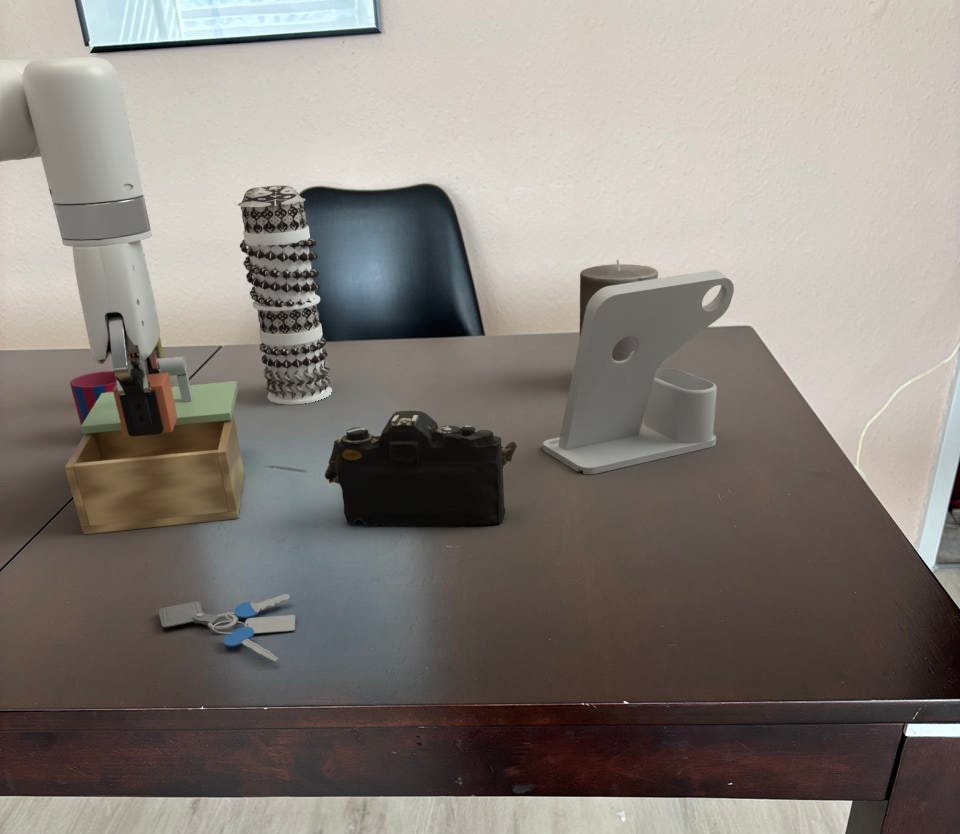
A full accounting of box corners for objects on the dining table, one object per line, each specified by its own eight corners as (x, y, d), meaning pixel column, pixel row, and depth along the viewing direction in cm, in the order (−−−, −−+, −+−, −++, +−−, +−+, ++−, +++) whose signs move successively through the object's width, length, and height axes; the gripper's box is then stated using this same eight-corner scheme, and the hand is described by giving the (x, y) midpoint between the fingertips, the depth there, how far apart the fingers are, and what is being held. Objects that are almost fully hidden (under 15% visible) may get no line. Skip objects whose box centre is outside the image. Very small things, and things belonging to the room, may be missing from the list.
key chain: (142, 624, 78) (140, 615, 77) (217, 581, 84) (215, 572, 83) (275, 668, 71) (273, 658, 71) (346, 618, 77) (345, 609, 77)
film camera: (497, 474, 102) (493, 379, 97) (527, 521, 91) (524, 416, 86) (324, 496, 99) (311, 399, 94) (335, 547, 89) (321, 440, 83)
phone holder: (670, 419, 114) (679, 255, 105) (725, 444, 106) (739, 269, 97) (538, 447, 108) (535, 276, 99) (586, 476, 100) (587, 293, 91)
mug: (137, 421, 123) (124, 367, 120) (150, 444, 115) (137, 387, 112) (81, 431, 121) (67, 376, 117) (91, 455, 113) (75, 397, 110)
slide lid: (82, 434, 98) (68, 381, 95) (103, 400, 108) (90, 351, 105) (231, 420, 99) (221, 367, 96) (238, 388, 109) (229, 339, 106)
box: (83, 534, 94) (64, 467, 90) (104, 489, 104) (88, 427, 100) (238, 518, 95) (225, 451, 92) (244, 475, 105) (233, 413, 102)
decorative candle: (304, 409, 124) (273, 193, 112) (250, 400, 129) (214, 192, 116) (349, 389, 131) (324, 183, 118) (296, 381, 135) (267, 182, 122)
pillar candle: (563, 383, 129) (562, 262, 121) (613, 366, 134) (615, 250, 126) (620, 397, 122) (623, 270, 115) (670, 379, 128) (676, 257, 120)
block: (123, 437, 93) (112, 389, 91) (131, 422, 97) (120, 376, 94) (172, 432, 93) (162, 385, 91) (177, 417, 97) (168, 372, 95)
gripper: (78, 212, 92) (124, 403, 102) (36, 240, 78) (94, 459, 87) (160, 207, 93) (198, 396, 102) (133, 232, 79) (180, 451, 88)
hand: (150, 423), depth 95 cm, fingers closed on block, 4 cm apart
